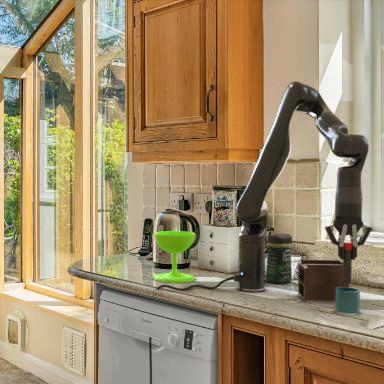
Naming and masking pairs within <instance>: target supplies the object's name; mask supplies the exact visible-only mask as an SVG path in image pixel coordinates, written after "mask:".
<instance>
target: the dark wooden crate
mask: <svg viewBox="0 0 384 384" xmlns="http://www.w3.org/2000/svg"><path fill="white" fill-rule="evenodd" d="M297 272H298V276H297V277H298V278H297V281H298V282H297V283H298V284H297V288H298V289H297V295H298V296H299V297H301V298H302V299H303V301H318V302H319V301H320V302H321V301H323V302H329V301H330V302H335V288H338V287H350V283H343V260H341V259H300V262H298V271H297Z"/></svg>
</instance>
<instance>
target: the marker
mask: <svg viewBox="0 0 384 384" xmlns="http://www.w3.org/2000/svg"><path fill="white" fill-rule="evenodd" d="M343 247H344V260H342V261H343V283H349V284H352V266H353V265H352V263H353V260H352V243H351V241H344V246H343Z"/></svg>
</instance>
